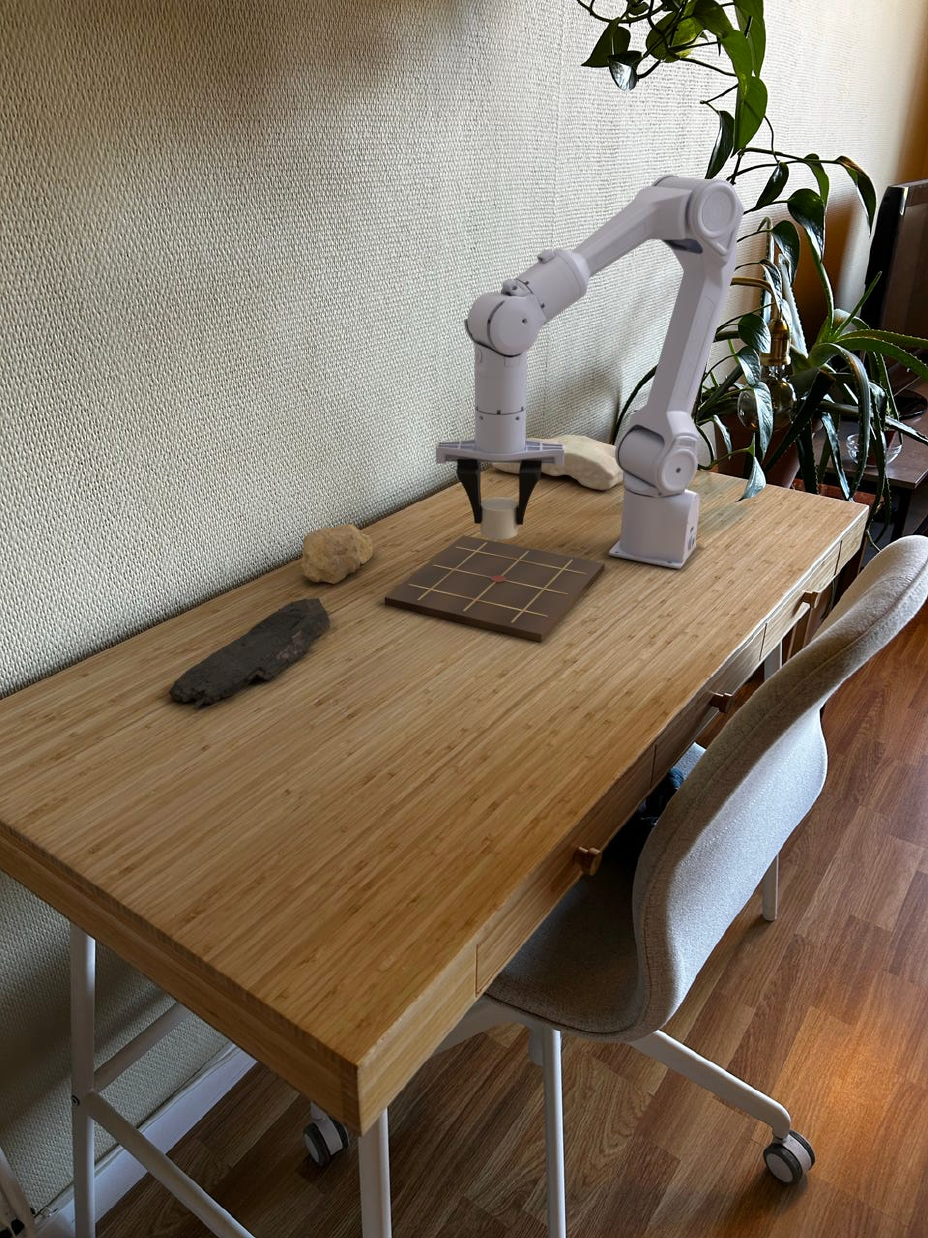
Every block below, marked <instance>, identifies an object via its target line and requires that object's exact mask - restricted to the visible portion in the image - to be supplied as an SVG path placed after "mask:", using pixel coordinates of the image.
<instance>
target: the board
mask: <svg viewBox="0 0 928 1238" xmlns="http://www.w3.org/2000/svg"><path fill="white" fill-rule="evenodd" d="M605 565H606V564H605V562H601V561H596V560H590V559H586V558H581V557H576V556H570V555H565V554H561V553H555V552H551V551H545V550H542V549H541V550H540V549H537V548H536V549H535V548H530V547H525V546H520V545H515V544H509V543H504V542H500V541H496V540H495V541H494V540H489V539H485V538H480V537H475V536H469V535H464V534H463V535H462V536H460V537H459V538H457V540H455V541H454V542H453V543H451V544H450V545H448V546H447V547H446V548H445V549H444V550H442V551H441V552H440V553H438V554H437V555H436V556H435V557H433V558H432V559H430V561H428V562H427V563H426V564H424V565H423V566H422V567H421V568H419V569H418V570H417V571H415V572H414V573H412V575H410V576H409V577H408V578H406V579H405V580H404V581H403V582H402V583H400V584H399V585H398V586H396V587H395V588H394V589H393V590H391V591H390V592H389V593H387V594H386V595H385V596H384V597H383V598H384V605H387V606H391V607H395V608H399V609H402V610H407V611H411V612H415V613H419V614H424V615H427V616H432V617H435V618H440V619H445V620H449V621H451V622H452V621H453V622H457V623H460V624H465V625H469V626H473V627H476V628H480V629H485V630H489V631H493V632H498V633H502V634H506V635H509V636H514V637H518V638H522V639H525V640H529V641H534V642H538V643H542V642H543V641H544V640H545V639H546V637H547V636H549V634H550V633H551V632H552V631H553V630H554V628H555V627H556V626H557V625H558V624H559V623H560V622H561V620H563V618H564V617H565V616H566V615H567V613H568V612H569V611H570V610H571V609H572V608H573V607H574V605H576V603H577V602H578V601H579V599H581V598H582V596H583V595H584V594H585V593H586V592H587V591H588V589H589V588H590V587H591V586H592V584H594V582H595V581H596V580H597V579H598V578H599V577H600V576H601V574H602V573H603V572H604V571H605Z"/></svg>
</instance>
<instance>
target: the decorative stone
mask: <svg viewBox="0 0 928 1238" xmlns="http://www.w3.org/2000/svg"><path fill="white" fill-rule="evenodd" d="M525 440H527V441H535V442H542V443H550V444H564V466H555V465H554V464H542V469H541V473H543V474H546V475H548V476H549V475H550V476H552V477H559V476H563V475H565V476H570V477H571V478H572V479H574V480H577V481H578V483H579V484H581V485H582V486H584V487H586V488H589V489H594V490H599V491H605V490H610V489H611V488H613V487H614V486H616V485H618V484H620V483H622V482H623V481H624V480H623V470H621V469H620V468H619V466H618V465H617V463H616V460H615V449H616V445H613V444H609V443H605V442H603V441H599V440H595V439H593V438H590V437H589V436H586V435H576V434H564V435H563V434H562V435H559V436H555V437H551V438H547V439H543V438H538V437H537V438H536V437H526V439H525ZM491 466H493V467H494V468H495V469H498V470H500V471H503V472H504V473H512V474H517V475H519V469H520V463H491Z"/></svg>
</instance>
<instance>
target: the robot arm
mask: <svg viewBox="0 0 928 1238" xmlns="http://www.w3.org/2000/svg"><path fill="white" fill-rule="evenodd" d="M744 212H745V206H744V205H743V202H742V200H741V198H740V196H739V194H738V192H737V191H736V189H735V187H734V186H733V184H732V183H731V182H729V180H726V179H724V178H711V179H707V178H698V177H697V178H696V177H687V176H686V177H684V176H678V175H675V174H665V175H662V176H660V177H658V178H656V180H654V181H653V182H652V183H651V185H647V186H645V187H643V188H641V189H640V190H639V191H638V192H637V193H636V195H635V196H634V199H633V200H632V201H630V202H629V203H628V204H627V205H626V206H625V207H623V208H622V209H621V210H619V211H618V212H617V213H616V214H615V215H614V216H612V217H611V218H610V219H609V220H607V221H606V222H605V223H604V224H603V225H601V226H600V227H599V228H597V229H596V230H595V231H594V232H593V233H591V234H590V235H589V236H588V237H587V238H586V239H584V240H583V241H582V242H581V243H579V244H578V245H577V246H575V248H573V249H572V250H571V251H570V250H567V249H563V248H555V249H553V250H550V249H549V250H548V249H543V251H541V252H539V254H537V255H536V258H537V262H535V263H534V264H533V265H531V266H530V267H529V268H527V269H526V270H524V271H523V272H522V273H520V274H519V275H518V276H516V277H515V278H507V279H506V280H504V281H503V282H502V283H501V286H502V287H501V289H500V292H499V291H487V292H484V293H482V294H481V295H479V296H478V297H477V298H476V299H475V300H474V301H473V303H472V304H471V308H469V310H468V315H467V318H465V319H464V320H463V324H464V329H465V333H466V335H467V336H468V338H469V339H470V340H471V342H472V343H473V346H474V366H473V367H474V369H473V370H474V439H468V440H458V441H457V440H456V441H438V442H437V443H436V446H435V463H436V464H446V463H447V462H448V463H449V462H450V463H451V462H452V463H456V470H455V471H456V472H455V473H456V475H457V479H458V480H459V481H460V483H461V485H462V488H463V490H464V491H465V493H466V495H467V498H468V501H469V504H470V507H471V511H472V515H473V520H474V524H477V525H481V502H482V493H481V491H482V490H481V486H482V485H481V484H482V483H481V481H482V480H481V479H482V477H481V476H482V474H481V473H482V463H491V464H492V463H520V469H519V474H518V514H517V525H518V526H524V518H525V513H526V510H527V507H528V503H529V500H530V498H531V495H532V494H533V492H534V489H535V487H536V485H537V483H538V481H539V479H540V477H541V475H542V472H541V469H542V464H554V465H555V466H564V444H550V443H542V442H535V441H527V440H525V439H527V437H526V436H527V435H526V433H527V431H526V430H527V388H528V387H527V385H528V383H527V382H528V350H530V349H531V348H532V347H533V346H534V344H535V343H536V340H537V338H538V336H539V332H540V330H541V329H542V328H543V327H544V326H545V325H547V324H548V323H549V322H551V321H552V320H553V319H554V318H556V317H557V316H559V315H560V314H561V313H563V312H564V311H565V310H567V309H568V308H570V307H571V306H572V305H574V304H575V303H576V302H578V301H579V300H581V299H582V298H583V297H584V296H586V295H587V290H588V287H589V280H590V279H591V278H592V277H594V276H596V274H598V273H600V272H601V271H603V270H604V269H606V268H607V267H609V266H610V265H612V264H613V263H615V262H616V261H618V260H620V259H622V258H623V257H624V256H626V255H627V254H629V253H631V252H632V251H634V250H635V249H637V248H638V247H640V246H642V245H643V244H645V243H646V242H648V241H650V240H660V241H661V242H662V243H664V244H665V245H666V246H667V247H668V248H669V249H671V250H672V252H673V254H674V256H675V258H676V259H677V261H678V263H679V265H680V266H681V268H682V270H683V273H682V277H681V281H680V284H679V287H678V290H677V295H676V298H675V302H674V305H673V309H672V313H671V316H670V319H669V323H668V327H667V331H666V334H665V337H664V341H663V345H662V348H661V351H660V354H659V355H660V356H659V359H658V362H657V366H656V370H655V373H654V376H653V380H652V383H651V387H650V391H649V394H648V399H647V401H646V404H645V405H644V406H642V407H640V408H639V409H638V410H636V411H635V412H633V413H632V414H631V415H630V418H629V421H628V424H627V426H626V429H625V431H624V432H623V433H622V435H621V436H620V437H619V439H618V441H617V442H616V445H615V446H616V449H615V460H616V463H617V465H618V466H619V468H620V469H621V470H623V481H624V482H623V484H624V485H623V495H622V511H621V521H620V524H621V525H620V534H619V535H620V536H619V539H618V541H617V542H616V543H615V544H614V545H613V546H612V548H611V549H610V550H609V551H608V555H609V556H611V557H616V558H620V559H621V558H622V559H626V560H632V561H636V562H641V563H646V564H650V565H651V564H652V565H657V566H661V567H668V568H672V569H681V568H682V567H683V565H684V564H685V563H686V562H687V559H689V557H690V556H691V555H692V553H693V552H694V550H695V549H696V547H697V542H696V541H697V534H698V533H697V532H698V524H699V517H700V507H701V495H700V494H699V493H698V492H695V491H692V490H689V489H687V488H688V486H690V484H691V483H692V482H693V480H694V478H695V476H696V474H697V472H698V467H699V459H698V449H699V445H700V441H701V435H700V433H699V430H698V429H697V426H696V424H695V422H694V420H693V417H692V413H693V409H694V405H695V402H696V398H697V397H698V393H699V389H700V386H701V382H702V379H703V375H704V373H705V370H706V365H707V363H708V359H709V356H710V353H711V351H712V350H711V348H712V347H713V343H714V340H715V336H716V332H717V329H718V327H719V323H720V319H721V316H722V314H723V309H724V307H725V304H726V300H727V297H728V293H729V290H730V287H731V283H732V280H733V277H734V273H735V270H736V265H737V261H738V254H737V253H738V252H737V251H738V238H737V237H738V233H739V229H740V226H741V223H742V219H743V216H744Z"/></svg>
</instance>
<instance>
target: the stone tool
mask: <svg viewBox="0 0 928 1238" xmlns="http://www.w3.org/2000/svg"><path fill="white" fill-rule="evenodd" d="M302 545H303V546H302V550H301V554H302V557H301V562H300V566H301V569H302V570H303V575H304V576H305V577H306V578H307V579H308V580H309V581H312V582H313V583H320V582H324V583H329V584H337V583H339V582H340V581H342V580H344V579H345V578H346V577H347V575H348V574H353V573H356V570H357V569H359V568H361V565H365V564H366V563H367V562H369V560H370V559H371V558H372V557H373V552H374V550H373V542H372V539H371V537H370V536H369V535H368V534H365V533H363V532H362V531H361V530H360V529H358V527H356V526H355V525H353V524H350V523H349V524H341V525H340V526H333V527H331V526H329V527H323V528H322V529H317V530H313V531H311V532H308V534H306V535H305V536H304V537H303V540H302Z"/></svg>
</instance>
